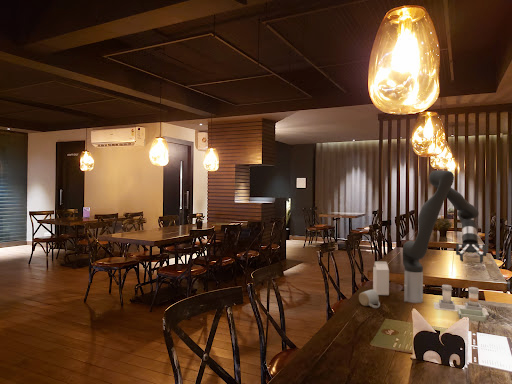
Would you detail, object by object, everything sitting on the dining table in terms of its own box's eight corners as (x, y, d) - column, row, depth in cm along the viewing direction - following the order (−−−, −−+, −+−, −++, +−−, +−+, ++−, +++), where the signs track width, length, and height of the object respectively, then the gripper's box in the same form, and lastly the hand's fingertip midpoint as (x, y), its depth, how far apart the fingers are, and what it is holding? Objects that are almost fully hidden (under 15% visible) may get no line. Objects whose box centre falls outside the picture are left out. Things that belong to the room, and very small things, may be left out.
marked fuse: (468, 310, 188) (469, 288, 188) (467, 308, 192) (468, 286, 192) (479, 311, 187) (479, 289, 186) (477, 309, 191) (478, 287, 190)
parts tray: (459, 320, 177) (459, 314, 177) (457, 314, 186) (457, 308, 186) (486, 324, 173) (486, 317, 173) (483, 317, 182) (483, 310, 181)
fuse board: (434, 310, 191) (434, 303, 191) (433, 303, 202) (433, 297, 202) (489, 317, 182) (489, 310, 182) (485, 309, 193) (485, 303, 193)
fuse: (442, 307, 193) (442, 286, 193) (441, 305, 197) (441, 284, 197) (451, 308, 192) (452, 287, 191) (451, 306, 196) (451, 285, 195)
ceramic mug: (357, 304, 202) (357, 290, 202) (368, 301, 206) (368, 287, 206) (373, 310, 193) (373, 295, 193) (383, 307, 197) (384, 292, 197)
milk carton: (388, 295, 218) (389, 262, 218) (376, 295, 218) (376, 262, 218) (385, 291, 225) (385, 260, 225) (373, 291, 226) (373, 260, 225)
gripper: (455, 232, 210) (456, 256, 200) (484, 232, 203) (487, 258, 193) (455, 240, 214) (456, 264, 205) (484, 240, 208) (487, 266, 198)
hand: (471, 261), depth 199 cm, fingers open, 8 cm apart
